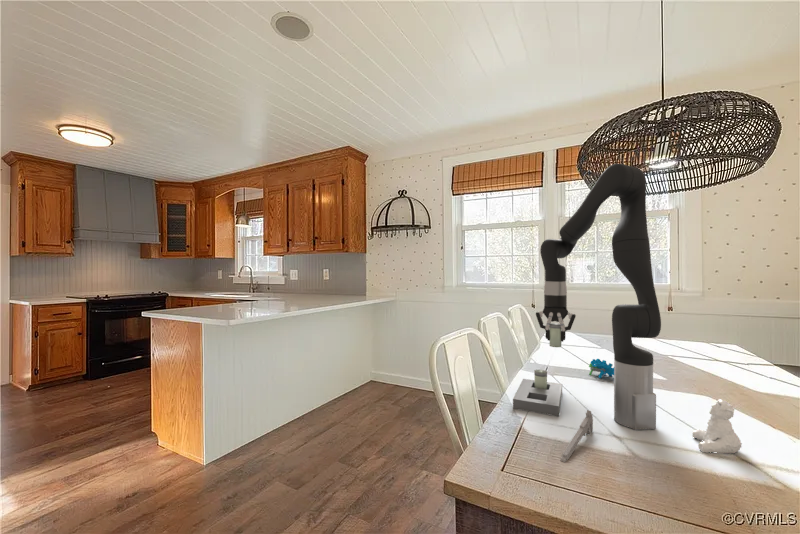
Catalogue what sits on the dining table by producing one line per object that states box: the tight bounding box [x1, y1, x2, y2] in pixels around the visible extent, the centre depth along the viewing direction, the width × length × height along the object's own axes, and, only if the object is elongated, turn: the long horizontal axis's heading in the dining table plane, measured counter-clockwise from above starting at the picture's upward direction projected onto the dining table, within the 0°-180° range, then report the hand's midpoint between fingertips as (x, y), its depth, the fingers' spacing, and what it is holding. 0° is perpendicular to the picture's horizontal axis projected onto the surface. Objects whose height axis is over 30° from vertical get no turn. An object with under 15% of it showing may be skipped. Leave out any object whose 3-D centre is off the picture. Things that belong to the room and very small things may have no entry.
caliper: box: [560, 410, 594, 463], centre depth 89 cm, size 20×1×6 cm, turn 136°
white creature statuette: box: [692, 398, 743, 454], centre depth 87 cm, size 10×9×12 cm
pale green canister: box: [549, 322, 562, 348], centre depth 131 cm, size 4×4×8 cm
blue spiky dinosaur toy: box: [588, 358, 614, 379], centre depth 142 cm, size 11×6×10 cm
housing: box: [512, 369, 563, 417], centre depth 118 cm, size 22×13×8 cm, turn 153°
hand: (555, 340), depth 131 cm, fingers closed on pale green canister, 4 cm apart
